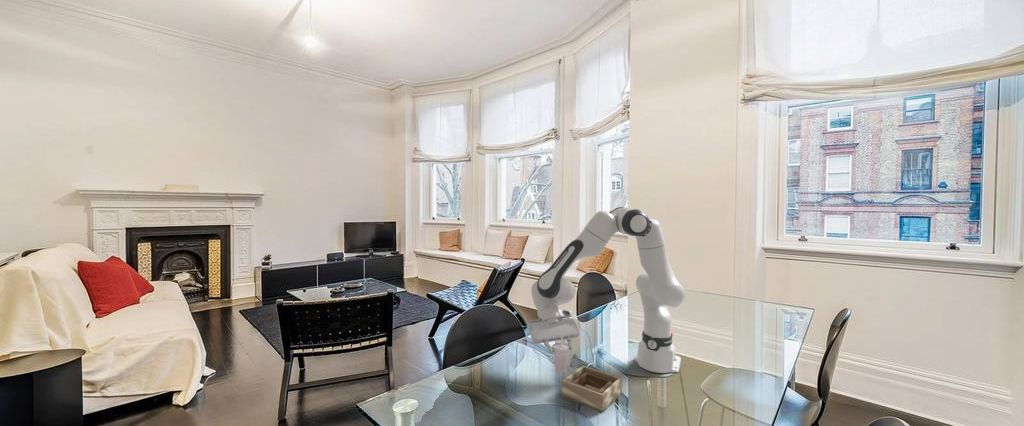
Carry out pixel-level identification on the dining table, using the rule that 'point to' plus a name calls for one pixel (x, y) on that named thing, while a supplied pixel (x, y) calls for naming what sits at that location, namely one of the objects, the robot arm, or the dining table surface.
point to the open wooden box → (592, 388)
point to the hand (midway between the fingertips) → (561, 350)
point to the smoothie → (560, 356)
